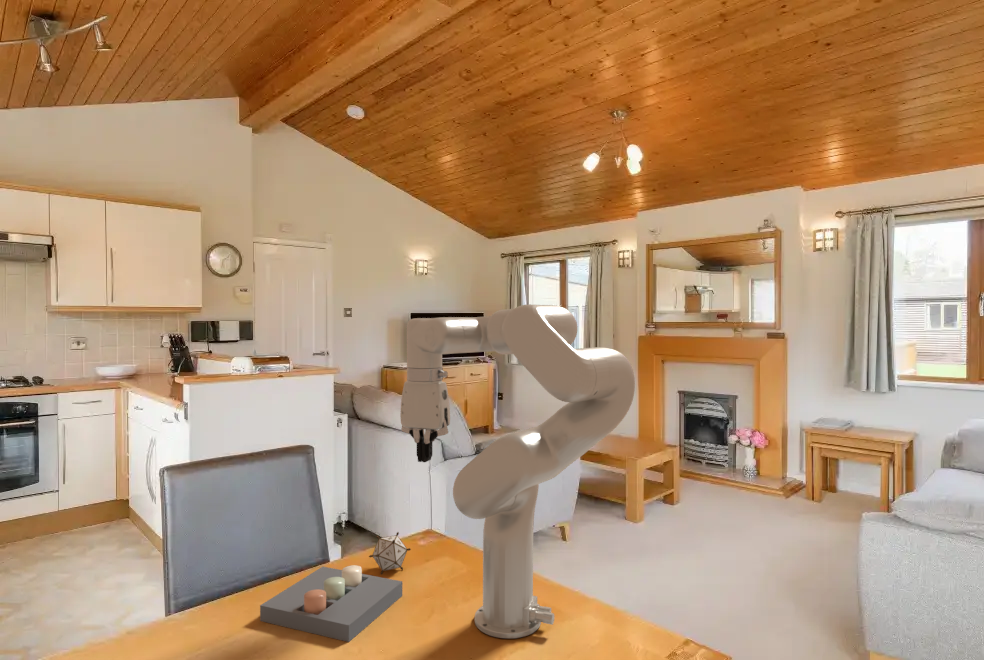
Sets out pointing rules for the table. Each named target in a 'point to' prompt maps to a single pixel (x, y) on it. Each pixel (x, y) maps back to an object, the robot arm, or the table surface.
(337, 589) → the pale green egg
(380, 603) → the panel
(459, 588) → the table surface
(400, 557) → the game die
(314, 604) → the pink egg
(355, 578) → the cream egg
